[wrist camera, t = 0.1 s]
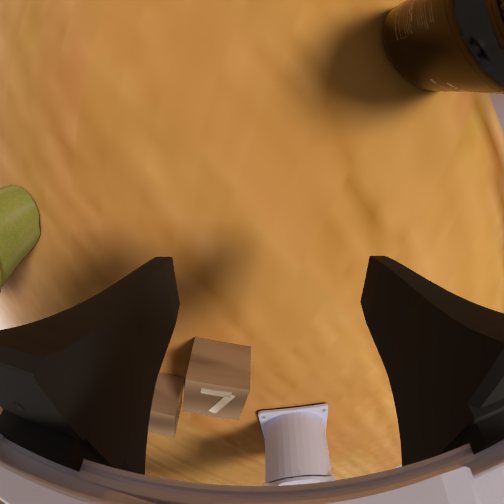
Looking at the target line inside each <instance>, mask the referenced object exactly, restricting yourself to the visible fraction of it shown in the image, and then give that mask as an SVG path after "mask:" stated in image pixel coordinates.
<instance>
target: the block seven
mask: <svg viewBox="0 0 504 504" xmlns="http://www.w3.org/2000/svg"><path fill="white" fill-rule="evenodd" d="M250 359H251V347H249V346H243V345H237V344H231V343H225V342H220V341H214V340H209V339H204V338H199V337H195V339H194V344H193V348H192V353H191V357H190V361H189V366H188V370H187V375H186V380H185V391H184V404H183V411H185V412H191V413H196V414H201V415H207V416H213V417H220V418H226V419H234V420H239V417H240V415H241V412H242V410H243V407H244V404H245V402H246V399H247V396H248V394H249V391H250Z"/></svg>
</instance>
